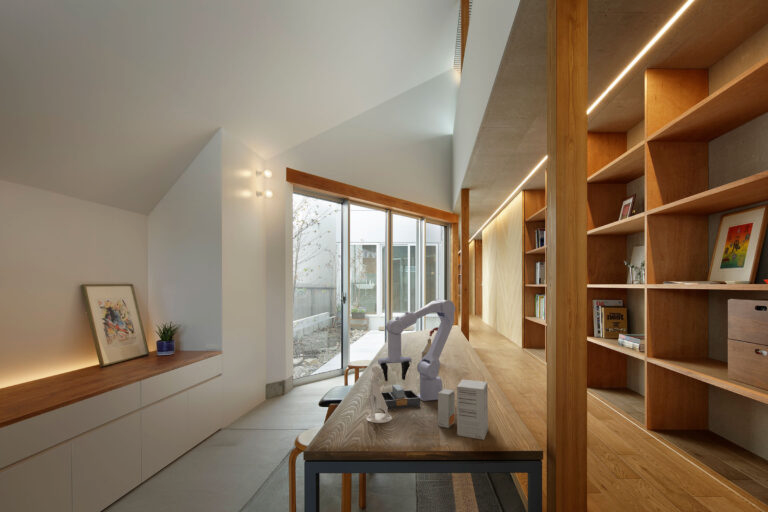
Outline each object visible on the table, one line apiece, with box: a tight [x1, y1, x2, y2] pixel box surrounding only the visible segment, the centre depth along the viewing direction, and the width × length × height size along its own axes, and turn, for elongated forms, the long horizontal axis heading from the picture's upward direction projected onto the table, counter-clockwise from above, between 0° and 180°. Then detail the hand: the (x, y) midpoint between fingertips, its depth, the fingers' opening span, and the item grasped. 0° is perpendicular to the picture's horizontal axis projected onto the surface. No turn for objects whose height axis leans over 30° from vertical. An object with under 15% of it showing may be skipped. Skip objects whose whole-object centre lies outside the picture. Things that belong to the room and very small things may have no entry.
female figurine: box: [351, 364, 393, 424], centre depth 153 cm, size 11×16×20 cm
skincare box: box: [437, 388, 456, 429], centre depth 145 cm, size 6×4×12 cm
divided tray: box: [381, 389, 421, 411], centre depth 168 cm, size 16×11×4 cm
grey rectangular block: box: [391, 383, 405, 399], centre depth 167 cm, size 3×8×6 cm, turn 14°
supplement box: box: [456, 379, 489, 440], centre depth 138 cm, size 10×9×17 cm
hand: (394, 380), depth 170 cm, fingers open, 7 cm apart
